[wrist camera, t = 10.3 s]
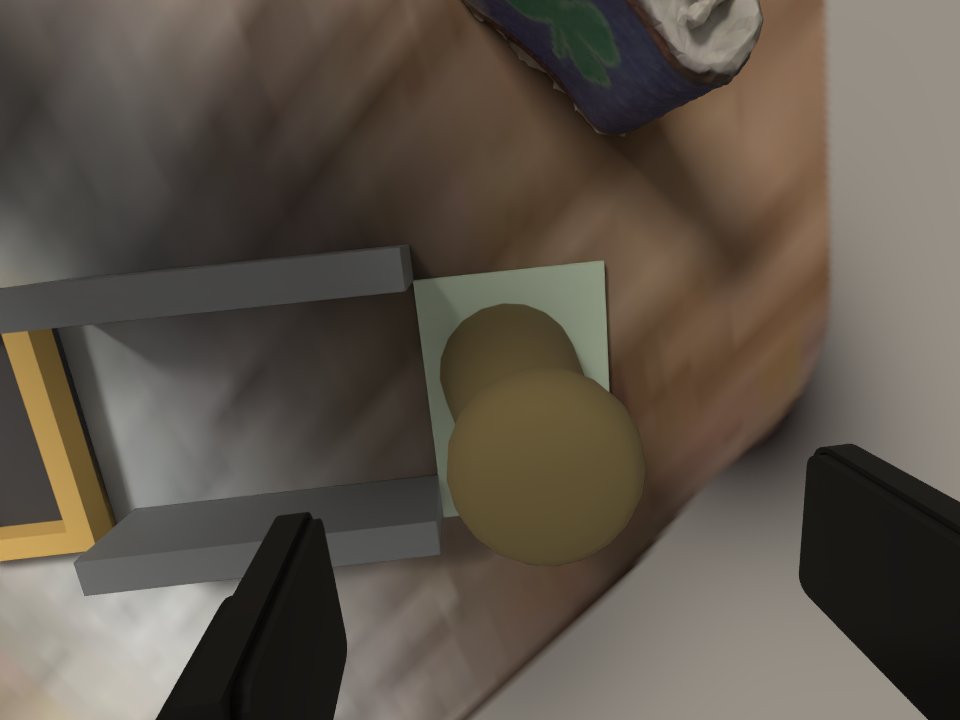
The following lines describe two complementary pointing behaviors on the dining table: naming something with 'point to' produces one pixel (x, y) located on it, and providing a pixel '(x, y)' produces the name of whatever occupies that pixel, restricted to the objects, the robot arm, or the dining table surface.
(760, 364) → the dining table surface
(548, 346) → the cork
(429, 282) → the mat
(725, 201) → the dining table surface
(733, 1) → the flask
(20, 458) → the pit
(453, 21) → the dining table surface
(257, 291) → the grey parallel walls
